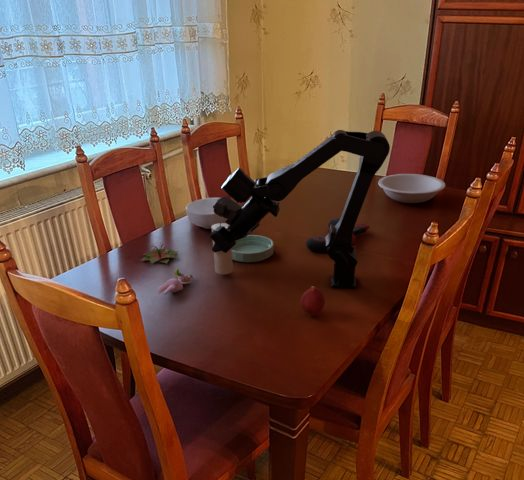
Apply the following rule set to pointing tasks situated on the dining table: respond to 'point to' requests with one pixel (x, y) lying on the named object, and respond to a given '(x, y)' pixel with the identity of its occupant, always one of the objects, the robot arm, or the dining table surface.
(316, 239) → the toy motorcycle
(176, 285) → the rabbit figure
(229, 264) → the candle
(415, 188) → the soup bowl
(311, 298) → the onion
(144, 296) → the dining table surface
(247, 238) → the candle dish
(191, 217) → the cereal bowl
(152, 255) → the lily flower
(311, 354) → the dining table surface
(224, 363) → the dining table surface
